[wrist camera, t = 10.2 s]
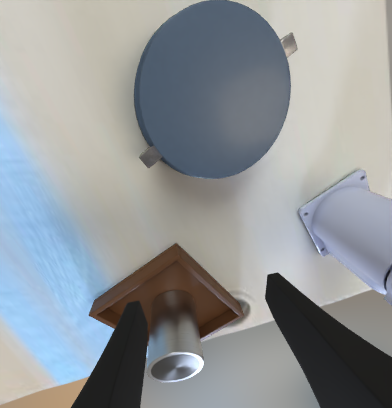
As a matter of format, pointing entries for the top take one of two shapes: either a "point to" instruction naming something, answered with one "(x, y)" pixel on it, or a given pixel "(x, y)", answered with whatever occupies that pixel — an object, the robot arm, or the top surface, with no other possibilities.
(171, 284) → the tray
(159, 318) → the cup
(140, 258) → the top surface
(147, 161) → the lidded cooking pot
